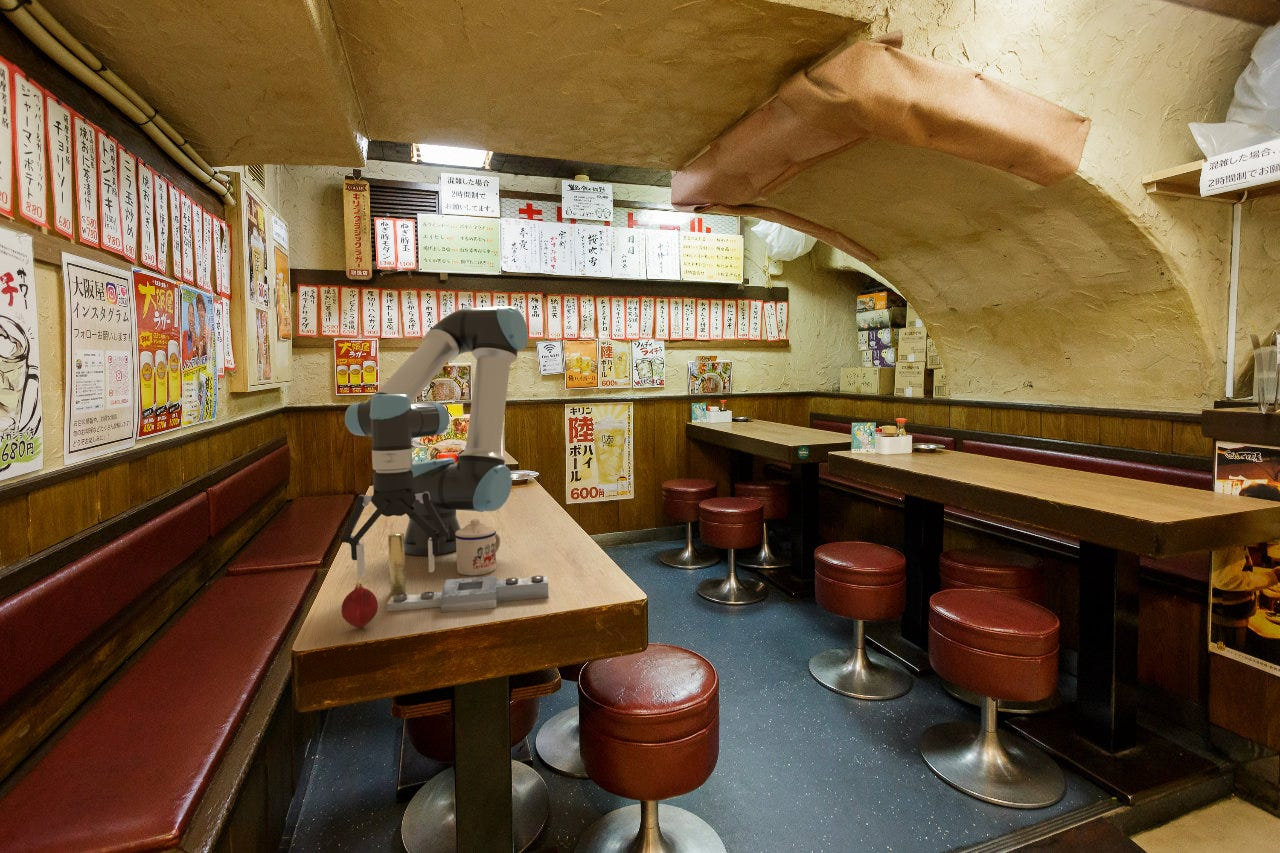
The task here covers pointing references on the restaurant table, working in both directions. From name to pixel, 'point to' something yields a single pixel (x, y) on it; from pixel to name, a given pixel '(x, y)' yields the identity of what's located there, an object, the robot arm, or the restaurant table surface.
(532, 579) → the studded slotted bracket
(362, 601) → the onion
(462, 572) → the teacup with lid
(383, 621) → the restaurant table surface
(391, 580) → the brass pin
